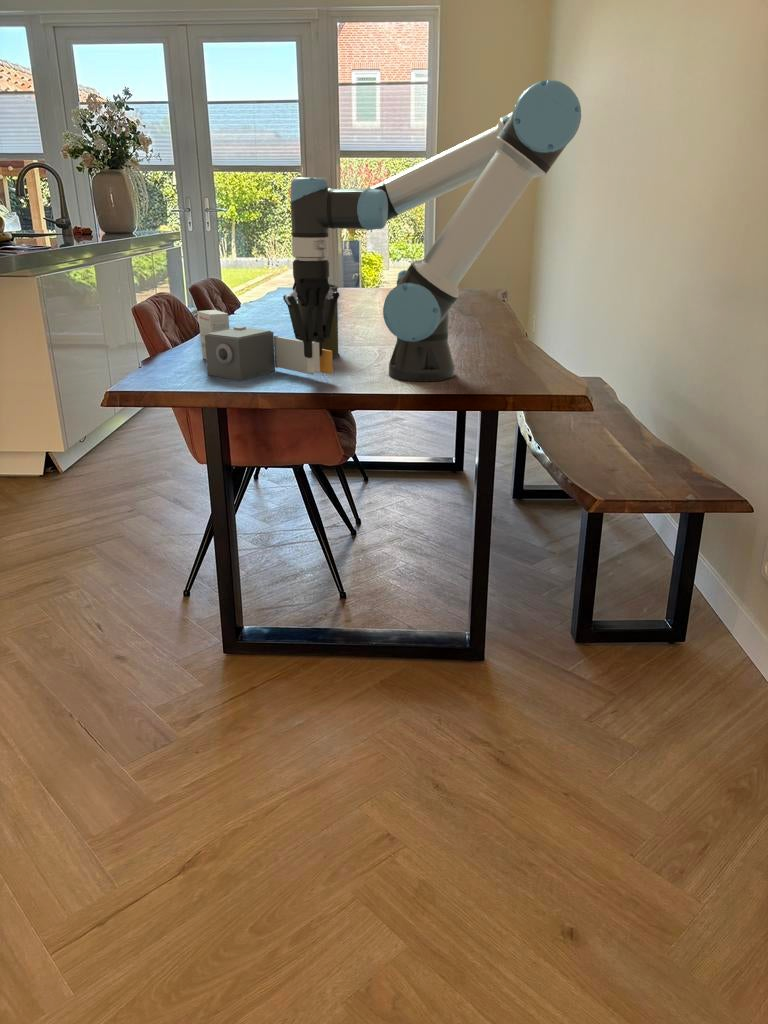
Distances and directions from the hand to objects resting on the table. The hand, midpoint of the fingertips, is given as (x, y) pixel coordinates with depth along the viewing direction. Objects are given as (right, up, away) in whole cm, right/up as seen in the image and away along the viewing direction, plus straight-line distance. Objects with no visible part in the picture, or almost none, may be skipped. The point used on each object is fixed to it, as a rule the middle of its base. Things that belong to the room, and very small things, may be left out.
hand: (313, 371), depth 167 cm
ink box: (-26, +7, +23) cm, 36 cm away
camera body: (-18, +2, +10) cm, 20 cm away
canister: (-1, +9, +30) cm, 31 cm away
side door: (-3, +1, +6) cm, 7 cm away
